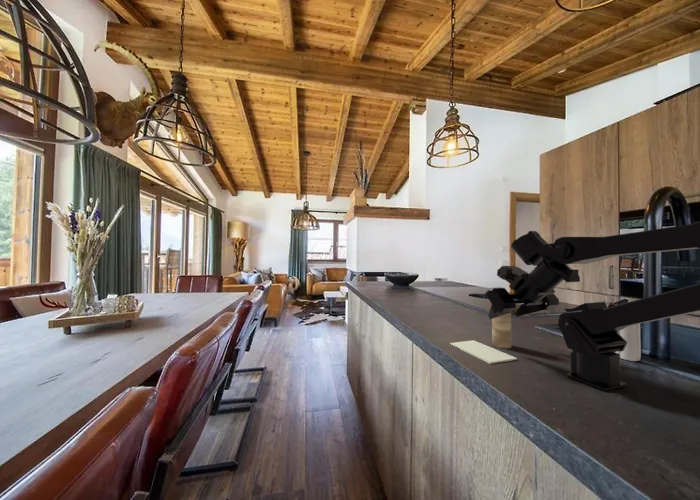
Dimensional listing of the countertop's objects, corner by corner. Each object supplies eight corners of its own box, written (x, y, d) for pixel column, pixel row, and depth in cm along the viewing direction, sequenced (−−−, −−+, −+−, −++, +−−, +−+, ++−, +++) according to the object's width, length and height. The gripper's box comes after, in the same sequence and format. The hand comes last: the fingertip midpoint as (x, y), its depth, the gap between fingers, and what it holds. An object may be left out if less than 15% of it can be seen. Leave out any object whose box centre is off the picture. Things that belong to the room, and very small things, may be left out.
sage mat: (517, 359, 64) (516, 358, 64) (490, 363, 61) (490, 362, 61) (473, 341, 77) (473, 340, 77) (450, 344, 75) (450, 343, 75)
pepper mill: (515, 347, 72) (515, 302, 72) (502, 349, 71) (501, 303, 71) (501, 342, 77) (500, 300, 77) (488, 343, 75) (488, 301, 75)
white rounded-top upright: (616, 348, 72) (615, 301, 72) (640, 352, 68) (639, 304, 69) (615, 358, 64) (614, 307, 65) (641, 363, 61) (640, 309, 62)
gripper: (546, 255, 71) (511, 291, 82) (491, 255, 66) (460, 294, 76) (580, 288, 64) (536, 323, 74) (520, 292, 58) (481, 329, 68)
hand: (503, 316), depth 73 cm, fingers open, 9 cm apart
